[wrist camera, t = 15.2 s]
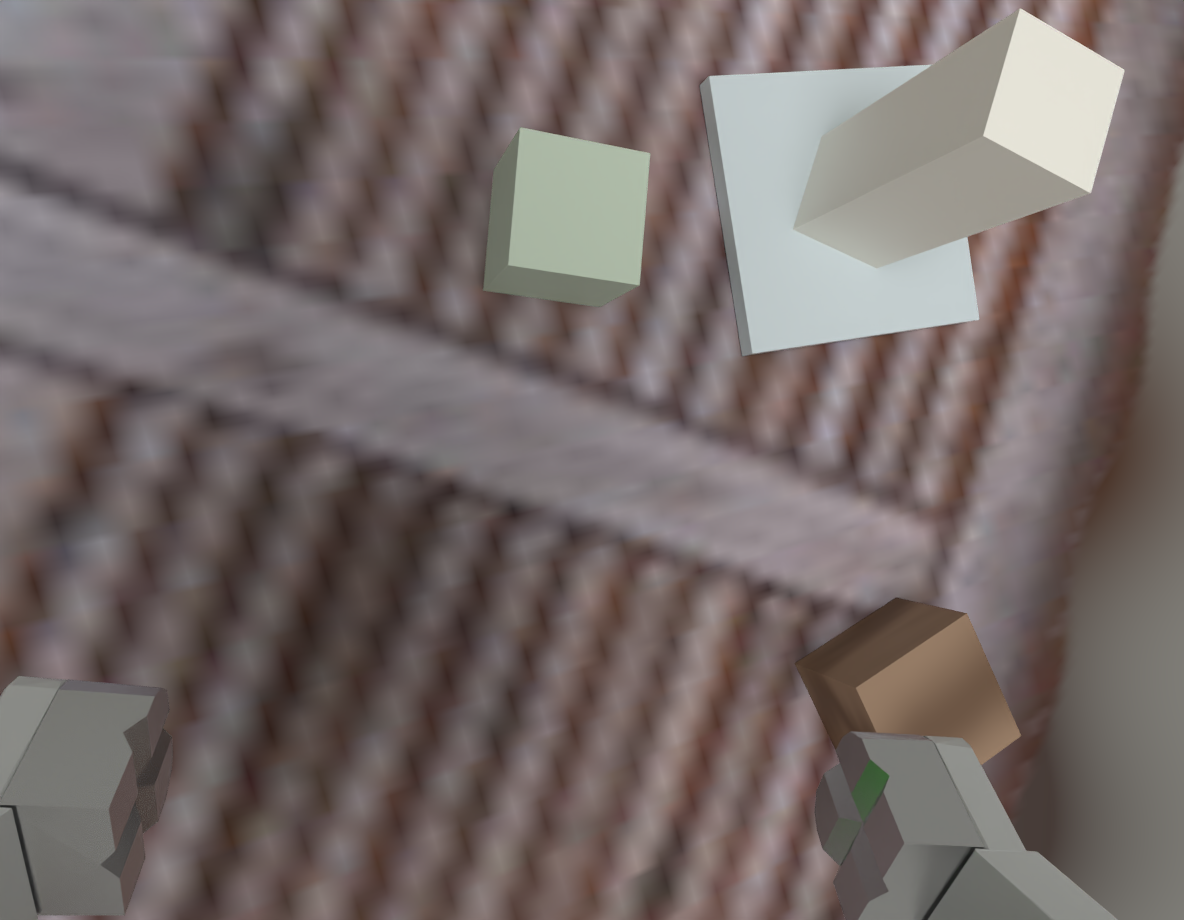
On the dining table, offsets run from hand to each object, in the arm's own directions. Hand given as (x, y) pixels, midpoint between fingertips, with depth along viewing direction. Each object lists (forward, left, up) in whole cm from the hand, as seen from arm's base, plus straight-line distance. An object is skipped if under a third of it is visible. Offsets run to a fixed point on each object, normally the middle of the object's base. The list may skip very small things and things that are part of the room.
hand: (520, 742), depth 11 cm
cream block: (-12, +23, -25) cm, 36 cm away
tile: (-11, +23, -26) cm, 37 cm away
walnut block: (+11, +21, -26) cm, 35 cm away
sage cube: (-11, +9, -26) cm, 30 cm away
